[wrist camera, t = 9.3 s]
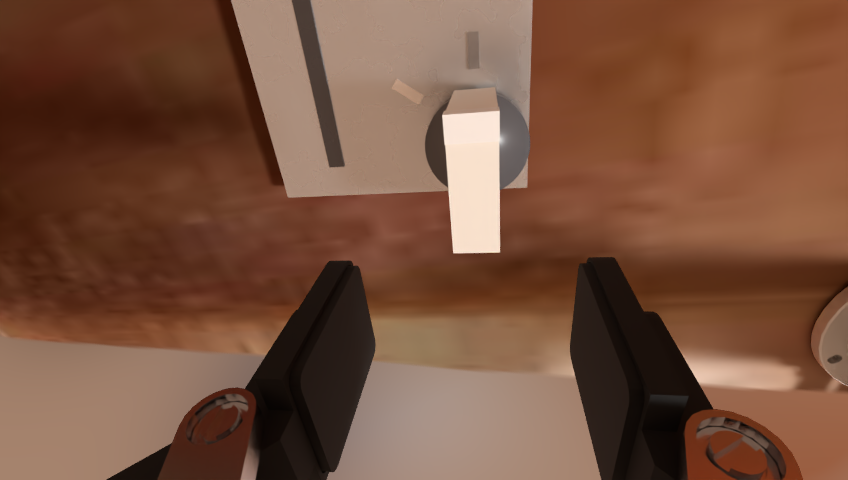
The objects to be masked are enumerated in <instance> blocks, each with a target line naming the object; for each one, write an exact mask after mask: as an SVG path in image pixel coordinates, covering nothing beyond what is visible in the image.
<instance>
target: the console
mask: <svg viewBox="0 0 848 480" xmlns="http://www.w3.org/2000/svg"><path fill="white" fill-rule="evenodd" d="M532 1H533V0H231V2H232V5H233V9H234V12H235V16H236V19H237V23H238V26H239V30H240V33H241V36H242V40H243V43H244V47H245V50H246V54H247V57H248V61H249V64H250V68H251V71H252V74H253V78H254V81H255V85H256V88H257V92H258V95H259V99H260V102H261V106H262V109H263V112H264V116H265V119H266V123H267V126H268V130H269V133H270V137H271V140H272V144H273V147H274V150H275V154H276V157H277V161H278V164H279V168H280V171H281V175H282V178H283V182H284V185H285V188H286V192H287V195H288V197H311V196H335V195H359V194H382V193H406V192H430V191H449V189H448V187H446V186H445V185H444V184H442V183H441V182H440V181H439V180H438V179H437V177H436V176H435V175H434V174H433V172H432V170H431V169H430V166H429V164H428V161H427V158H426V153H425V137H426V133H427V130H428V127H429V124H430V122H431V120H432V118H433V117H434V115H435V113H436V112H437V111H438V109H439V108H440V107H441V106H442V105H443V104H444V103H445V102H447V101H448V100H449V99H451V97H452V94H453V92H454V91H455V90H467V89H479V88H491V87H495V89H496V93H497V94H499V95H502V96H504V97H505V98H507V99H509V100H510V101H511V102H512V103H513V104H514V105H515V106H516V107H517V108H518V109H519V111H520V112H521V113H522V115H523V117H524V119H525V121H526V124H527V127H528V130H529V103H530V69H531V35H532ZM527 171H528V159H527V161H526V164H525V166H524V168H523V170H522V171H521V173H520V174H519V175H518V177H517V178H516V179H515V180H514V181H513V182H511V183H510V184H509V185H508V186H506V187H505V188H524V187H527Z"/></svg>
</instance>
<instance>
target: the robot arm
mask: <svg viewBox="0 0 848 480" xmlns="http://www.w3.org/2000/svg"><path fill="white" fill-rule="evenodd" d="M811 348H812V351H813V355H814V357H815V359H816V360H817V361H818V363H819V364H820V366H821V367H822V368H823V369H824V370H825V371H826V372H827V373H828V374H829V375H830V376H831V377H832V378H834V379H835V380H837V381H839V382H840V383H842V384H844V385H846V386H848V287H846V288H845V289H844V290H843V291H841V292H840V293H839V294H838V295H836V296H835V298H834V299H833V300H832V301H831V302H830V303H829V304H828V305H827V306H826V307H825V308H824V310H823V311H822V313H821V315H820V316H819V318H818V319H817V321H816V323H815V326H814V329H813V331H812V334H811ZM374 353H375V338H374V333H373V328H372V324H371V319H370V314H369V310H368V305H367V300H366V296H365V291H364V286H363V282H362V277H361V272H360V269H359V267H358V266H353V263H352V262H351V261H329V262H328V263H327V265H326V266H325V268H324V269H323V271H322V272H321V274H320V276H319V277H318V279H317V280H316V282H315V284H314V285H313V287H312V288H311V290H310V291H309V293H308V295H307V296H306V298H305V299H304V301H303V302H302V304H301V306H300V307H299V309H298V310H296V311H295V312H294V313H293V315H292V316H291V318H290V319H289V321H288V322H287V324H286V325H285V327H284V329H283V330H282V332H281V333H280V335H279V336H278V338H277V339H276V341H275V343H274V344H273V346H272V347H271V349H270V350H269V352H268V354H267V355H266V357H265V358H264V360H263V361H262V363H261V365H260V366H259V368H258V369H257V371H256V372H255V374H254V375H253V377H252V379H251V380H250V382H249V383H248V385H247V386H246V388H245V389H242V388H228V389H224V390H221V391H218V392H215V393H213V394H211V395H209V396H208V397H206V398H204V399H203V400H201V401H200V402H199V403H197V404H196V405H195V406H194V407H192V409H191V410H190V411H189V412H188V413H187V414H186V415H185V416H184V418H183V420H182V422H181V423H180V425H179V427H178V430H177V432H176V434H175V437H174V440H173V442H172V443H171V444H170V445H168V446H166V447H164V448H162V449H161V450H159V451H157V452H155V453H154V454H151V455H150V456H148V457H146V458H144V459H143V460H141V461H139V462H137V463H135V464H134V465H132V466H130V467H128V468H126V469H125V470H123V471H121V472H119V473H117V474H116V475H114V476H112V477H110V478H109V479H107V480H326V479H327V476H328V474H329V472H334V471H335V470H336V468H337V466H338V464H339V461H340V458H341V454H342V451H343V448H344V445H345V442H346V439H347V436H348V433H349V430H350V426H351V424H352V421H353V418H354V415H355V412H356V408H357V405H358V402H359V399H360V396H361V393H362V390H363V387H364V384H365V381H366V378H367V375H368V372H369V369H370V365H371V363H372V359H373V356H374ZM570 355H571V360H572V364H573V368H574V372H575V376H576V380H577V384H578V388H579V392H580V396H581V400H582V404H583V408H584V412H585V416H586V420H587V424H588V428H589V432H590V436H591V440H592V444H593V448H594V452H595V456H596V460H597V464H598V468H599V472H600V476H601V480H803V478H802V475H801V472H800V468H799V466H798V464H797V462H796V460H795V458H794V456H793V454H792V452H791V451H790V450H789V449H788V448H787V447H786V445H785V444H784V443H783V442H782V441H781V440H780V439H779V438H778V437H777V436H776V435H774V434H773V433H772V432H771V431H769V430H768V429H767V428H765V427H764V426H762V425H760V424H758V423H757V422H755V421H753V420H751V419H749V418H748V417H744V416H742V415H739V414H736V413H734V412H730V411H724V410H718V409H713V407H712V406H711V404H710V402H709V401H708V399H707V397H706V395H705V394H704V392H703V390H702V388H701V387H700V385H699V383H698V382H697V380H696V378H695V376H694V375H693V373H692V371H691V370H690V368H689V366H688V364H687V363H686V361H685V359H684V357H683V356H682V354H681V352H680V351H679V349H678V347H677V345H676V344H675V342H674V340H673V339H672V337H671V335H670V333H669V332H668V330H667V328H666V326H665V325H664V323H663V321H662V320H661V318H660V317H659V315H658V314H657V313H655V312H644V311H643V310H642V308H641V306H640V304H639V302H638V300H637V298H636V296H635V295H634V293H633V291H632V289H631V287H630V285H629V283H628V282H627V280H626V278H625V276H624V274H623V272H622V270H621V268H620V267H619V265H618V263H617V261H616V259H615V258H613V257H593V258H588V260H587V263H583V264H579V268H578V277H577V286H576V295H575V305H574V314H573V323H572V332H571V341H570Z"/></svg>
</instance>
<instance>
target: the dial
mask: <svg viewBox="0 0 848 480" xmlns="http://www.w3.org/2000/svg"><path fill="white" fill-rule="evenodd" d="M529 151H530V135H529V130H528V127H527V124H526V121H525V119H524V117H523V115H522V113H521V112H520V111H519V109H518V108H517V107H516V106H515V105H514V104H513V103H512V102H511V101H510V100H509V99H507V98H505V97H504V96H502V95H499V94H497V93H496V89H495V87H491V88H479V89H467V90H455V91H454V92H453V94H452V97H451V99H449V100H448V101H447V102H445V103H444V104H443V105H442V106H441V107H440V108H439V109H438V111H437V112H436V113H435V115H434V117H433V118H432V120H431V122H430V124H429V127H428V130H427V133H426V137H425V153H426V158H427V161H428V164H429V166H430V169H431V170H432V172H433V174H434V175H435V176H436V177H437V179H438V180H439V181H440V182H441V183H442V184H444V185H445V186H446V187H448V189H449V202H450V216H451V229H452V242H453V253H500V190H501V189H503V188H505V187H506V186H508V185H509V184H510V183H511V182H513V181H514V180H515V179H516V178H517V177H518V175H519V174H520V173H521V171H522V170H523V168H524V166H525V164H526V161H527V159H528V155H529Z"/></svg>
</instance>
